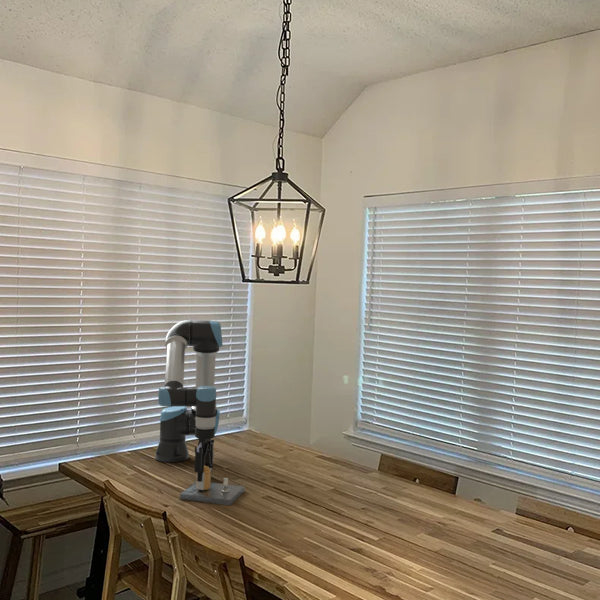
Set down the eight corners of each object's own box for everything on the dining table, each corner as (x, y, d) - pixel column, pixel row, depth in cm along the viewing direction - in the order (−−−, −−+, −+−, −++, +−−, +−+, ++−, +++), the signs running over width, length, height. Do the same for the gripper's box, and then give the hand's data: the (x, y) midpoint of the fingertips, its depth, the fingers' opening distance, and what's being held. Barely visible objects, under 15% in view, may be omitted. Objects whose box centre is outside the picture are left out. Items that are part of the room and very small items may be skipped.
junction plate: (196, 485, 251) (197, 468, 251) (244, 491, 246) (244, 473, 246) (179, 498, 235) (180, 480, 235) (230, 505, 230) (230, 486, 230)
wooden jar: (199, 484, 245) (200, 464, 244) (212, 486, 243) (212, 465, 243) (194, 489, 240) (194, 468, 239) (206, 490, 238) (207, 469, 238)
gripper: (205, 421, 250) (203, 478, 251) (186, 431, 233) (184, 493, 234) (222, 422, 249) (220, 481, 249) (205, 433, 231) (203, 495, 232)
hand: (203, 486), depth 241 cm, fingers closed on wooden jar, 5 cm apart
